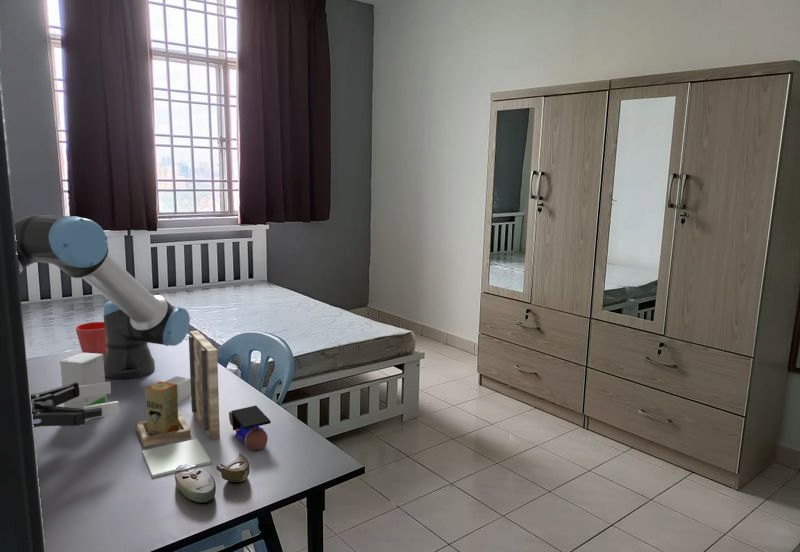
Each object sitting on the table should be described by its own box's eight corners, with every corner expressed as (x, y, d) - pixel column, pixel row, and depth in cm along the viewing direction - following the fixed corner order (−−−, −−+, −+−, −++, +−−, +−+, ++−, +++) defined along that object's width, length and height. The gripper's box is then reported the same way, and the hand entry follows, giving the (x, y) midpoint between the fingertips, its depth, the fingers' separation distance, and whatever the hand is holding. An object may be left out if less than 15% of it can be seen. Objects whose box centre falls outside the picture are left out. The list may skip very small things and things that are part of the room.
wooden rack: (134, 423, 145) (129, 338, 140) (200, 410, 153) (197, 330, 149) (147, 454, 130) (141, 360, 126) (219, 437, 138) (217, 349, 134)
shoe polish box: (164, 439, 137) (162, 391, 135) (147, 435, 138) (145, 388, 136) (178, 430, 141) (176, 384, 139) (162, 427, 143) (159, 381, 141)
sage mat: (142, 453, 130) (142, 450, 130) (197, 441, 136) (197, 438, 136) (152, 477, 120) (152, 475, 120) (211, 463, 127) (211, 460, 126)
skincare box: (85, 423, 144) (81, 363, 141) (62, 420, 145) (57, 361, 142) (108, 410, 152) (104, 353, 149) (86, 407, 153) (82, 350, 150)
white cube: (164, 399, 160) (163, 382, 159) (176, 392, 165) (175, 376, 164) (179, 401, 159) (178, 384, 158) (191, 395, 163) (190, 378, 162)
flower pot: (86, 348, 201) (84, 321, 199) (119, 348, 202) (117, 321, 200) (71, 358, 190) (69, 329, 188) (106, 358, 191) (104, 330, 189)
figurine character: (227, 436, 142) (245, 456, 130) (225, 406, 142) (243, 423, 129) (254, 430, 146) (274, 449, 133) (252, 401, 145) (272, 417, 132)
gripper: (4, 410, 132) (108, 394, 143) (1, 456, 111) (123, 433, 122) (2, 379, 130) (106, 365, 142) (-2, 420, 110) (121, 399, 121)
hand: (114, 396), depth 132 cm, fingers open, 13 cm apart
